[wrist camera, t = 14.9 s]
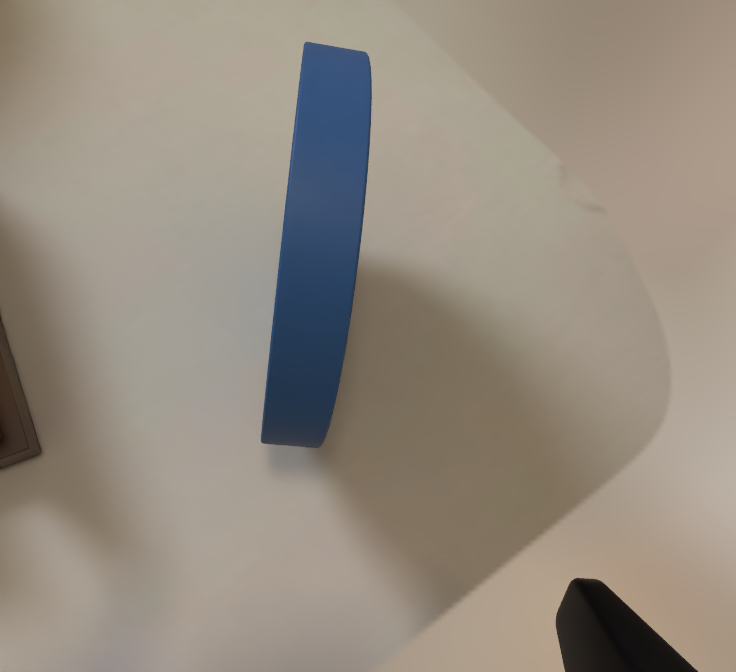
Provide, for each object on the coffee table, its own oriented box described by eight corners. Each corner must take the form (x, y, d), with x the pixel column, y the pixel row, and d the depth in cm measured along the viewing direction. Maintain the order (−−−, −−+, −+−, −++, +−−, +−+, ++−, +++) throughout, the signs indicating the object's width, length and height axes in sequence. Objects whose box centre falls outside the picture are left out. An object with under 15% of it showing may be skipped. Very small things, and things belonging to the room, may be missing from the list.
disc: (305, 486, 21) (361, 353, 11) (256, 483, 21) (269, 343, 11) (326, 215, 26) (378, -45, 16) (287, 210, 25) (315, -57, 16)
